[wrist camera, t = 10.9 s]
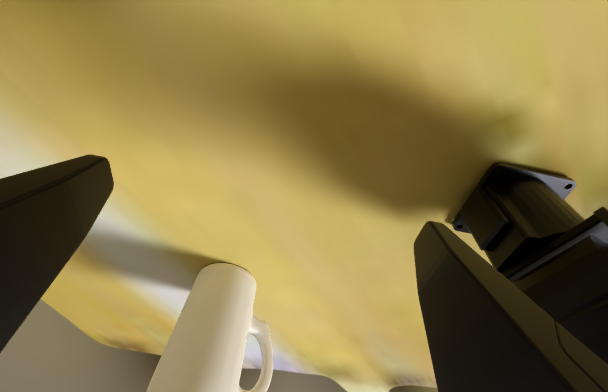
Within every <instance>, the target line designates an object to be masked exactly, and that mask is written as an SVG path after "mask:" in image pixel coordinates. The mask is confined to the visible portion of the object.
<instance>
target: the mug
mask: <svg viewBox="0 0 608 392" xmlns="http://www.w3.org/2000/svg"><path fill="white" fill-rule="evenodd" d="M255 293H256V281H255V279H254V278H253V276H252V275H251V274H250V273H249V272H248V271H246V270H245V269H243V268H241V267H239V266H236V265H232V264H227V263H215V264H211V265H208V266H206V267H204V268H203V269H202V270H201V271H200V272H199V274H198V276H197V278H196V281H195V283H194V285H193V287H192V289H191V291H190V293H189V296H188V298H187V300H186V302H185V305H184V307H183V309H182V311H181V314H180V316H179V318H178V320H177V323H176V325H175V327H174V329H173V332H172V334H171V336H170V338H169V341H168V343H167V345H166V347H165V350H164V352H163V354H162V356H161V359H160V361H159V363H158V365H157V367H156V370H155V372H154V374H153V377H152V379H151V381H150V384H149V386H148V389H147V392H266V391H267V389H268V386H269V384H270V381H271V377H272V372H273V351H272V344H271V338H270V332H269V326H268V323H267V322H265V321H262V320H260V319H258V318H257V317H255V316H254V315H253V313H252V310H253V304H254V298H255ZM248 333H250V334H252V335H254V336H255V337H256V338H257V340H258V342H259V345H260V348H261V353H262V370H261V374H260V377H259V380H258V382H257V383H256V385H255V387H254V388H253V389H251V390H250V391H245V390H243V389H242V388H240V386H239V379H240V375H241V369H242V364H243V358H244V353H245V348H246V342H247V337H248Z"/></svg>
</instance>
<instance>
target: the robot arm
mask: <svg viewBox="0 0 608 392" xmlns="http://www.w3.org/2000/svg"><path fill="white" fill-rule="evenodd" d="M497 169H500V170H499V171H497V172H496V170H497ZM567 184H568V185H567ZM113 186H114V182H113V177H112V173H111V168H110V164H109V161H108V159H107V158H105V157H101V156H96V155H85V156H82V157H78V158H74V159H71V160H67V161H63V162H60V163H56V164H53V165H49V166H45V167H42V168H38V169H34V170H31V171H27V172H23V173H20V174H16V175H13V176H9V177H5V178H2V179H0V353H1V351H2V350H3V349H4V347H5V346H6V344H7V343H8V342H9V340H10V339H11V338H12V336H13V335H14V334H15V332H16V331H17V330H18V328H19V327H20V326H21V324H22V323H23V321H24V320H25V319H26V317H27V316H28V315H29V313H30V312H31V311H32V309H33V308H34V306H35V305H36V304H37V302H38V301H39V300H40V298H41V297H42V296H43V294H44V293H45V292H46V290H47V289H48V288H49V286H50V285H51V284H52V282H53V281H54V279H55V278H56V277H57V275H58V274H59V273H60V271H61V270H62V269H63V267H64V266H65V265H66V263H67V262H68V260H69V259H70V258H71V256H72V255H73V254H74V252H75V251H76V250H77V248H78V247H79V246H80V244H81V243H82V241H83V240H84V238H85V237H86V236H87V234H88V232H89V231H90V229H91V227H92V226H93V224H94V222H95V220H96V219H97V217H98V215H99V213H100V212H101V210H102V208H103V206H104V205H105V203H106V201H107V199H108V198H109V196H110V194H111V192H112V190H113ZM575 187H576V182H575V181H574V180H573V179H571V178H568V177H563V176H558V175H554V174H549V173H545V172H540V171H536V170H531V169H526V168H522V167H517V166H513V165H508V164H503V163H495V164H493V165H492V166H491V167H490V168H489V170H488V171H487V173H486V174H485V176H484V177H483V179H482V180H481V181H480V183H479V184H478V186H477V187H476V188H475V190H474V191H473V193H472V194H471V196H470V197H469V199H468V200H467V202H466V203H465V204H464V206H463V207H462V209H461V210H460V212H459V214H458V215H457V217H456V218H455V219H454V221H453V223H452V226H453V228H454V229H455V230H456V231H461V232H466V233H471V234H472V235H473V237H474V239H475V241H476V243H477V244H478V246H479V248H480V249H481V250H484V251H485V253H486V255H487V257H488V258H489V260H490V262H491V263H492V265H493V266H491V265H490V264H489V263H488V262H487V261H486V260H485V259H483V258H482V257H481V256H480V255H479V254H478V253H476V252H475V251H474V250H473V249H472V248H471V247H469V246H468V245H467V244H466V243H465V242H464V241H462V240H461V239H460V238H459V237H458V236H457V235H456V234H454V233H453V232H452V231H451V230H450V229H449V228H447V227H446V226H445V225H444V224H442V223H439V222H433V221H428V222H427V223H426V224H425V225H424V226H423V228H422V230H421V231H420V233H419V235H418V236H417V238H416V240H415V242H414V256H415V267H416V278H417V288H418V296H419V301H420V306H421V311H422V316H423V320H424V325H425V330H426V335H427V340H428V345H429V349H430V354H431V359H432V364H433V369H434V373H435V378H436V383H437V388H438V392H608V210H607V209H606V208H605V207H601V208H600V209H598V210H596V211H595V212H593V213H594V214H593V215H592V216H590V217H589V218H587V219H584V218H583V217H581V216H580V215H579V214H578V213H577V212H576V211H575V210H574V209H573V208H572V207H571V206H570V205H569V204H568V203H567V202H566V201H565V200H564V199H565V198H566V197H567V196H568V194H569V193H570V192H571V191H572V190H573V189H574V188H575ZM459 224H460V225H459Z"/></svg>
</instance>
